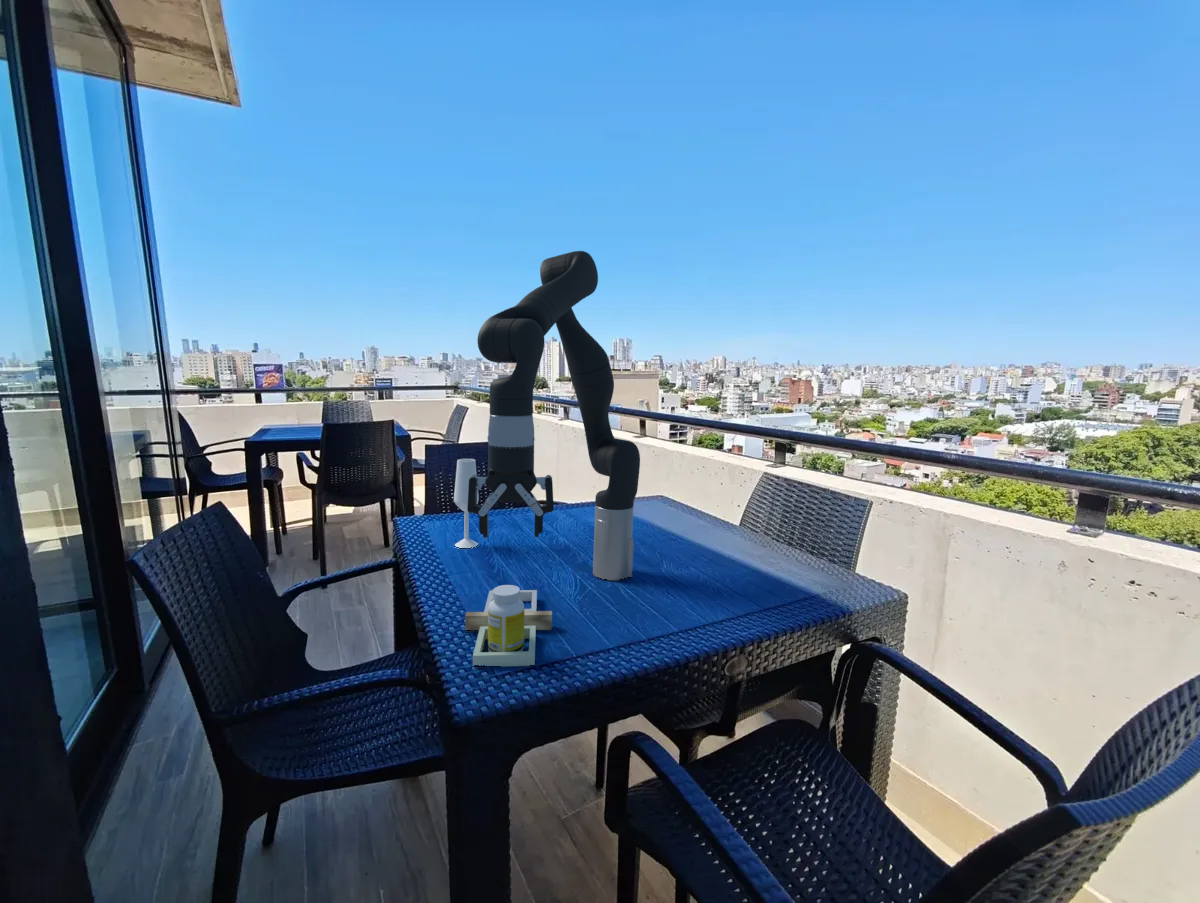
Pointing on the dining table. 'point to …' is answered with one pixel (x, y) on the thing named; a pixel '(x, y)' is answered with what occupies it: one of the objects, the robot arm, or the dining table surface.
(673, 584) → the dining table surface
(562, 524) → the dining table surface
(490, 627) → the pill bottle
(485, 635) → the keeper
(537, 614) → the edge strip
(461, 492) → the champagne flute
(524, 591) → the keeper
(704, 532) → the dining table surface
